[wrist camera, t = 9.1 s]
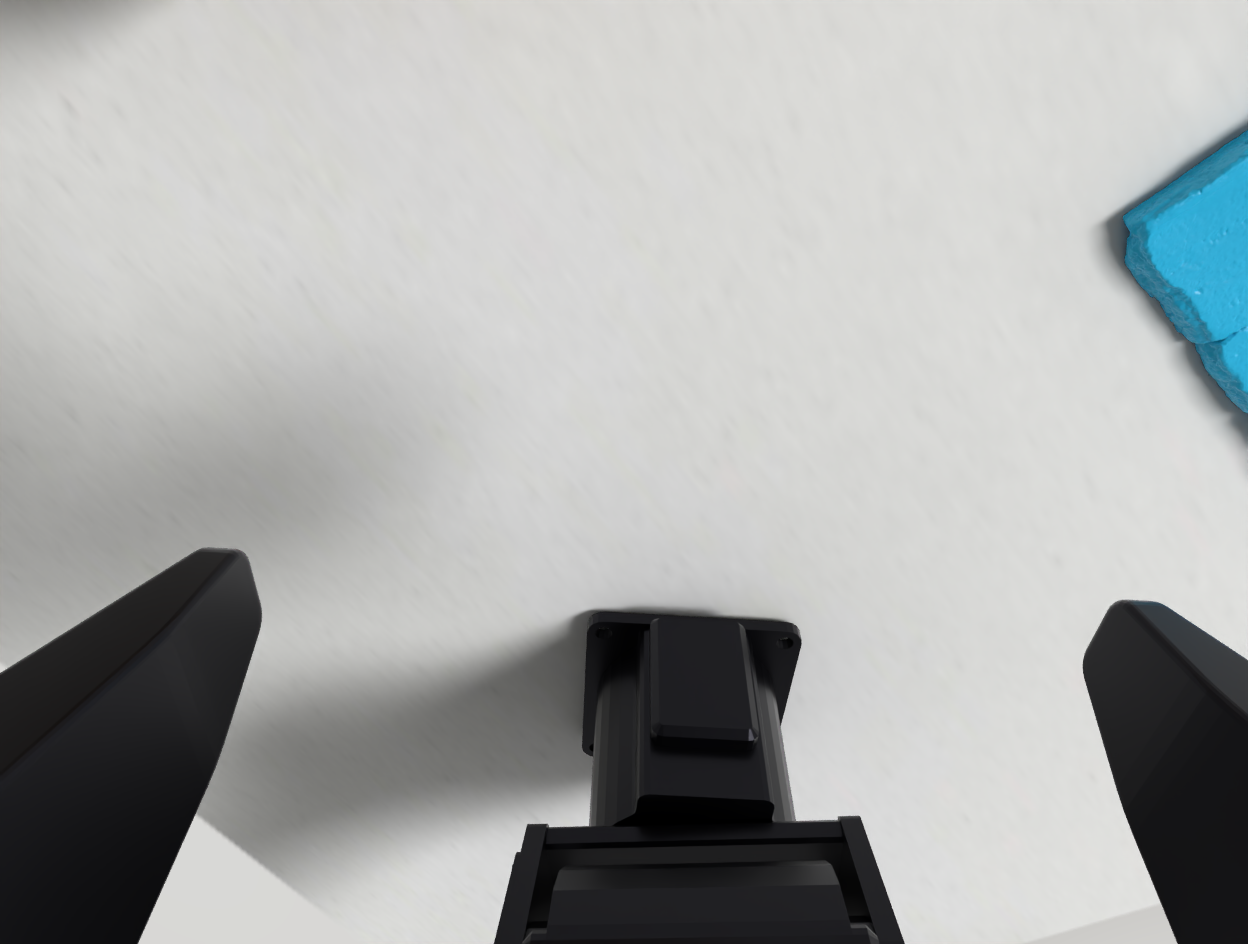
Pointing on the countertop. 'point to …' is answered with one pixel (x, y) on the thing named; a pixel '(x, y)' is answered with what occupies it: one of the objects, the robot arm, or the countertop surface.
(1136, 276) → the sponge
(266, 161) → the countertop surface
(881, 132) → the countertop surface
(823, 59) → the countertop surface
